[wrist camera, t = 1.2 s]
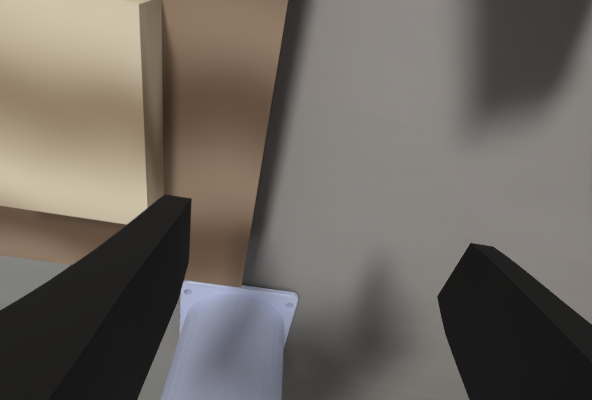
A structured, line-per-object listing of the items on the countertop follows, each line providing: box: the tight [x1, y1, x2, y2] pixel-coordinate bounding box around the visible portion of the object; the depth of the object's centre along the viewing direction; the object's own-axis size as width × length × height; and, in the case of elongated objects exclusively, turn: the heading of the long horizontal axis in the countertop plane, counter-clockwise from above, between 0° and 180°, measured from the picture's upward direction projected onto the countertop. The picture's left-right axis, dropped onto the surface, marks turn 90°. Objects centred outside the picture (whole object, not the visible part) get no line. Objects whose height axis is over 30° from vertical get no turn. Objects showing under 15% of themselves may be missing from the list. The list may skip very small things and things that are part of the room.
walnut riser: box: [0, 0, 288, 288], centre depth 15 cm, size 18×12×4 cm, turn 169°
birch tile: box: [0, 0, 164, 225], centre depth 13 cm, size 8×6×2 cm
